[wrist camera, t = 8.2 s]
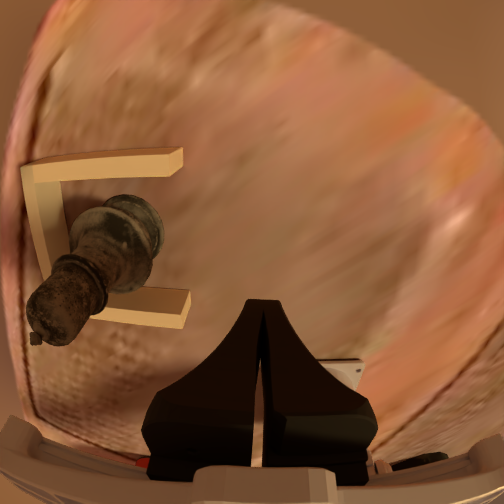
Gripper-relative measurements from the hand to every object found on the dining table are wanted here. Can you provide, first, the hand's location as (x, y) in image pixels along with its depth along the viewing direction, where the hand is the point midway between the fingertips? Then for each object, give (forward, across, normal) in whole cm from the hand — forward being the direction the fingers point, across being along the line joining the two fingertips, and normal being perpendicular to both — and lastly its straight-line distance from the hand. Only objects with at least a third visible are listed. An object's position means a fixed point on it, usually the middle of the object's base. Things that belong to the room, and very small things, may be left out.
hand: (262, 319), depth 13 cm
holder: (+8, +11, 0) cm, 14 cm away
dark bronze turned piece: (+9, +9, 0) cm, 13 cm away
